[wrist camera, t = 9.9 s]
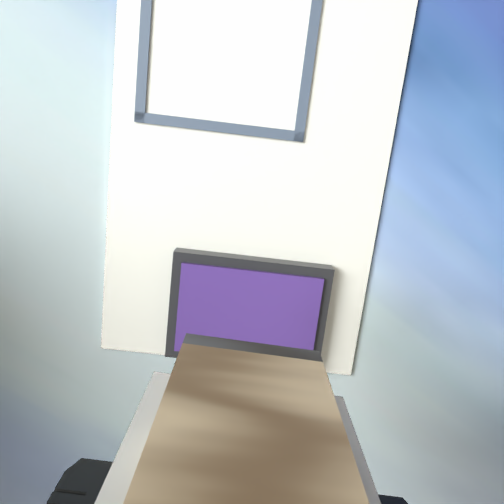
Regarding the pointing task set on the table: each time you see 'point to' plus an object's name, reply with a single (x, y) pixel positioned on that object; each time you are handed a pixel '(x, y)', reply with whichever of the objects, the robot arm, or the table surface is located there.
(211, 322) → the ink pad
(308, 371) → the stamp
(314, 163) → the sheet
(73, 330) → the table surface
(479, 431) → the table surface
